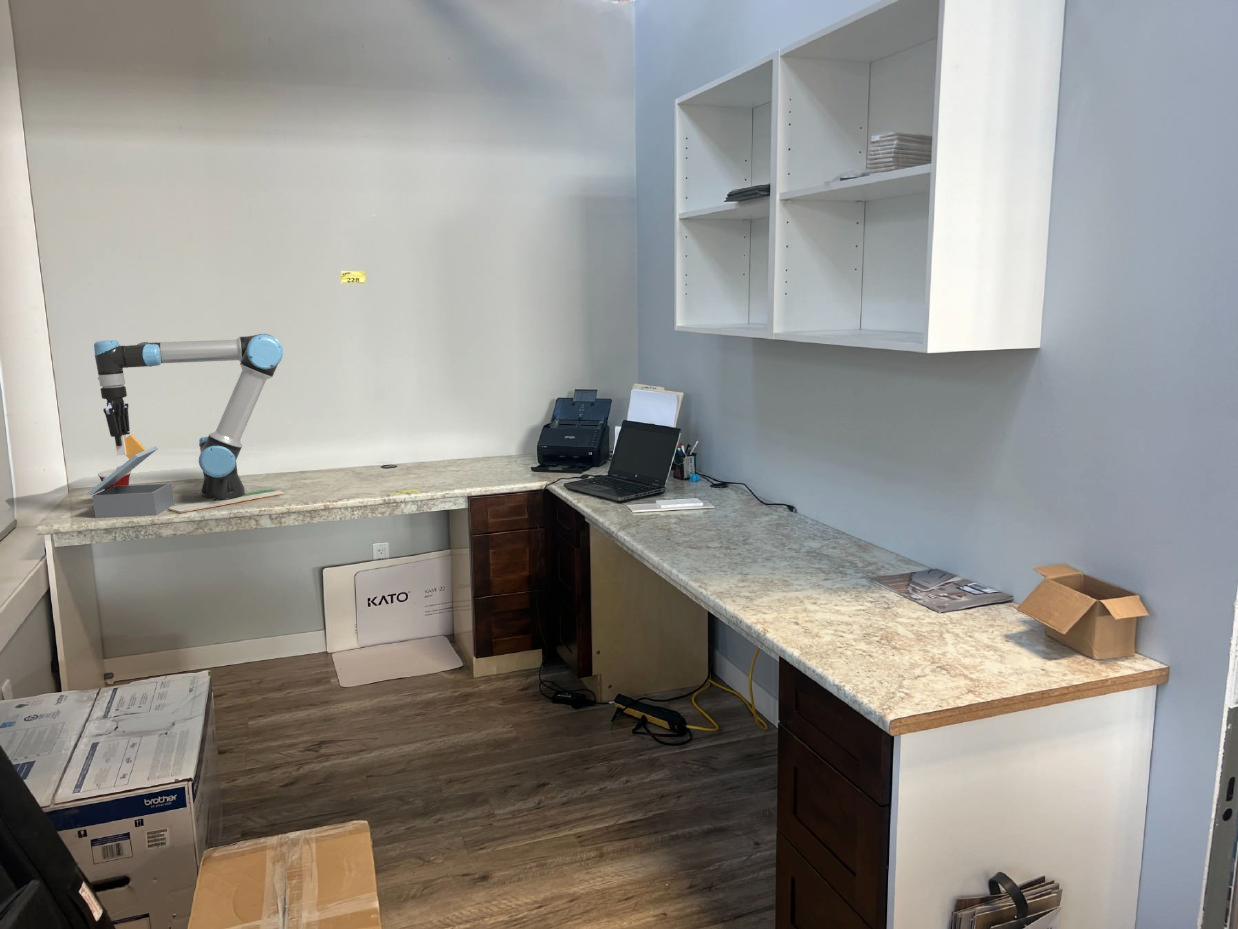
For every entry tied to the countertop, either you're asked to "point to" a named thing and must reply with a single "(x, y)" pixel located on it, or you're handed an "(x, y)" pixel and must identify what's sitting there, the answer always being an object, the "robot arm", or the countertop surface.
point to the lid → (135, 456)
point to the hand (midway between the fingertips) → (123, 454)
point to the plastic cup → (121, 482)
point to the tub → (133, 500)
